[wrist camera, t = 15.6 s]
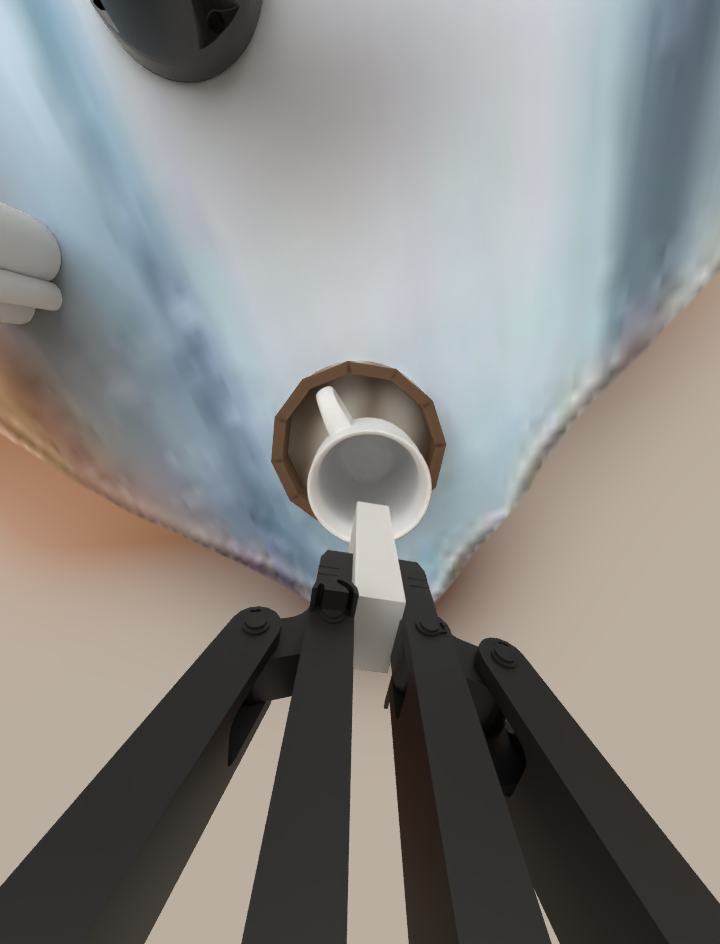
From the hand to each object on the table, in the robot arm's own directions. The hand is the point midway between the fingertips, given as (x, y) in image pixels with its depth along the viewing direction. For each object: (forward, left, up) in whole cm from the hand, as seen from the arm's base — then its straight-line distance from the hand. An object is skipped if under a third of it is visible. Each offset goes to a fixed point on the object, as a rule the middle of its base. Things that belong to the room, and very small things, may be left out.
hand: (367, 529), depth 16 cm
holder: (0, -2, -26) cm, 26 cm away
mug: (0, -2, -26) cm, 26 cm away
